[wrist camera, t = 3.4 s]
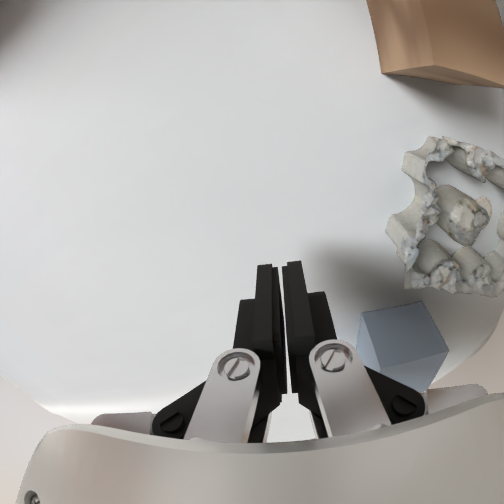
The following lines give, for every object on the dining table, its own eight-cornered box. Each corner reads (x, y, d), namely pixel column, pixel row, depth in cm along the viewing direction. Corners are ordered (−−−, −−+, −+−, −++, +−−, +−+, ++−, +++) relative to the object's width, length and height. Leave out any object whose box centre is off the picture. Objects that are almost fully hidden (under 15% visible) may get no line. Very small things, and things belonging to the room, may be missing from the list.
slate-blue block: (361, 311, 16) (380, 368, 12) (421, 301, 15) (449, 350, 11) (354, 355, 18) (366, 406, 14) (407, 344, 18) (426, 390, 14)
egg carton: (519, 177, 10) (559, 201, 7) (483, 271, 14) (512, 306, 11) (407, 114, 10) (459, 125, 6) (368, 251, 14) (396, 300, 10)
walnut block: (363, -9, 7) (402, -45, 3) (439, 9, 6) (492, -7, 2) (380, 73, 9) (434, 65, 5) (454, 84, 9) (514, 90, 5)
